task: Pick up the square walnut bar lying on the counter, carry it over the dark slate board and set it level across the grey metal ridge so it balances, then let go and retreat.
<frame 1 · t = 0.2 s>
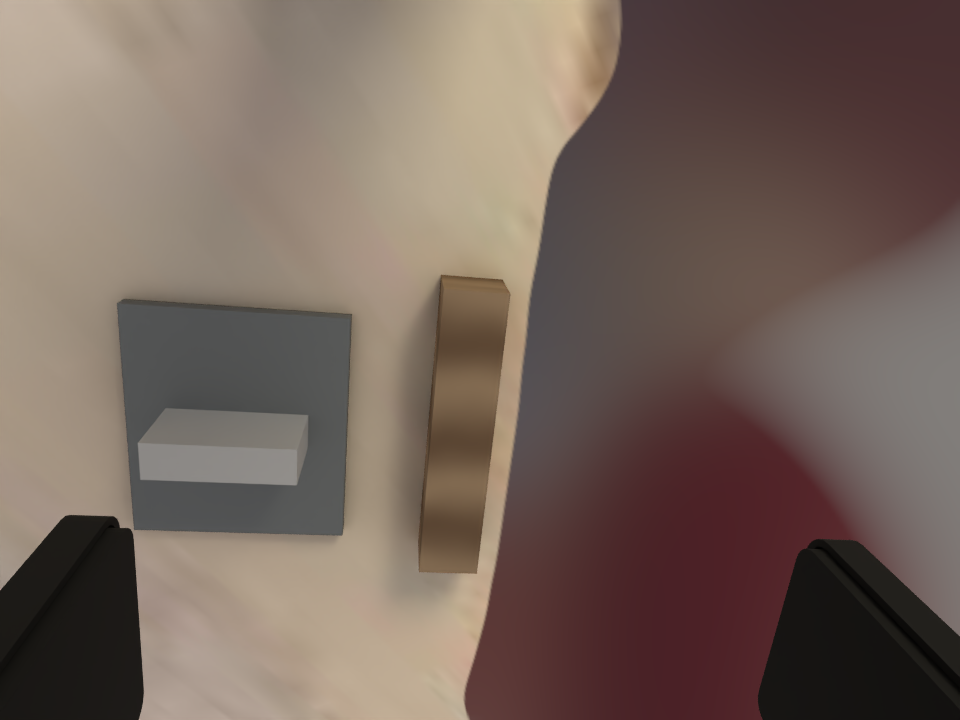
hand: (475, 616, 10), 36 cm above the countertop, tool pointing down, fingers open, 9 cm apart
slate board: (241, 421, 47), on the countertop
walnut bar: (457, 416, 49), on the countertop
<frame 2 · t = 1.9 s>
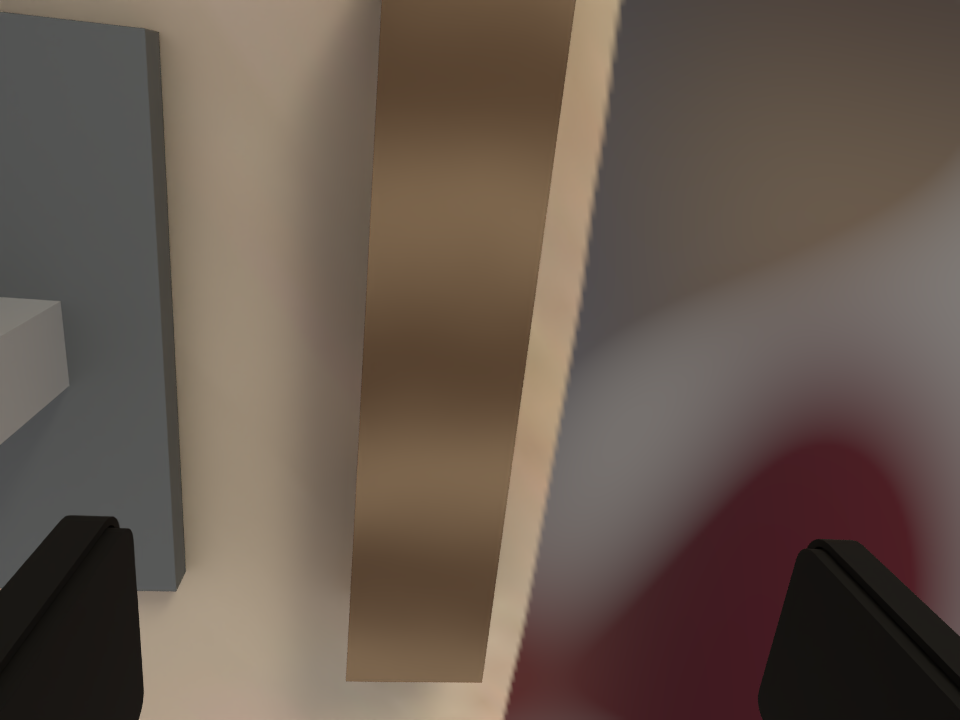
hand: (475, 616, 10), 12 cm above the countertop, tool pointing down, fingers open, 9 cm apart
walnut bar: (438, 318, 21), on the countertop
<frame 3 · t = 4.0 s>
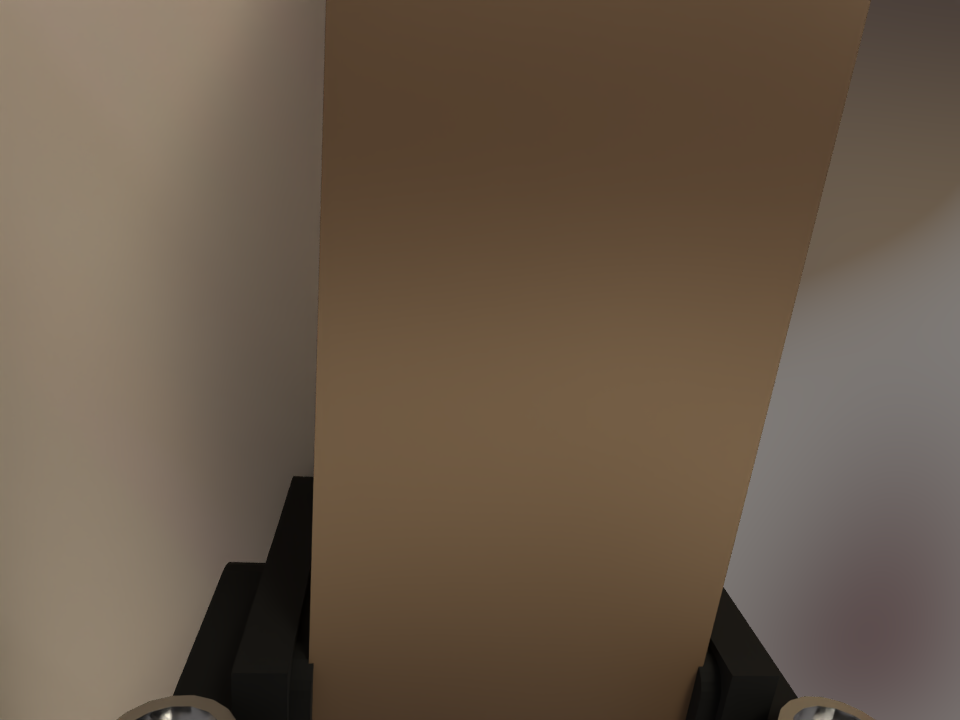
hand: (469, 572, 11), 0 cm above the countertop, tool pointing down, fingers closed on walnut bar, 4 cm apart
walnut bar: (467, 546, 11), on the countertop, touching gripper
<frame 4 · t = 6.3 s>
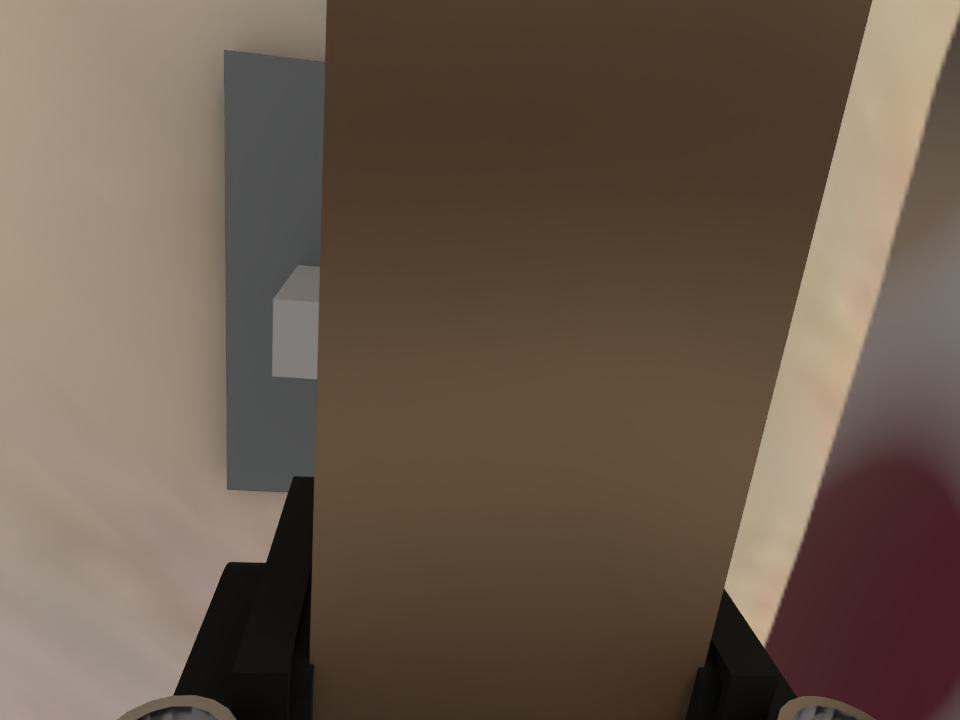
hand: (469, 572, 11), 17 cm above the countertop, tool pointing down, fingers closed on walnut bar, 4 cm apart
slate board: (420, 300, 27), on the countertop
walnut bar: (467, 550, 11), point 17 cm above the countertop, touching gripper
when the fingers open (7 cm above the countertop, at t = 9.0 s): walnut bar stays where it is, resting on slate board.
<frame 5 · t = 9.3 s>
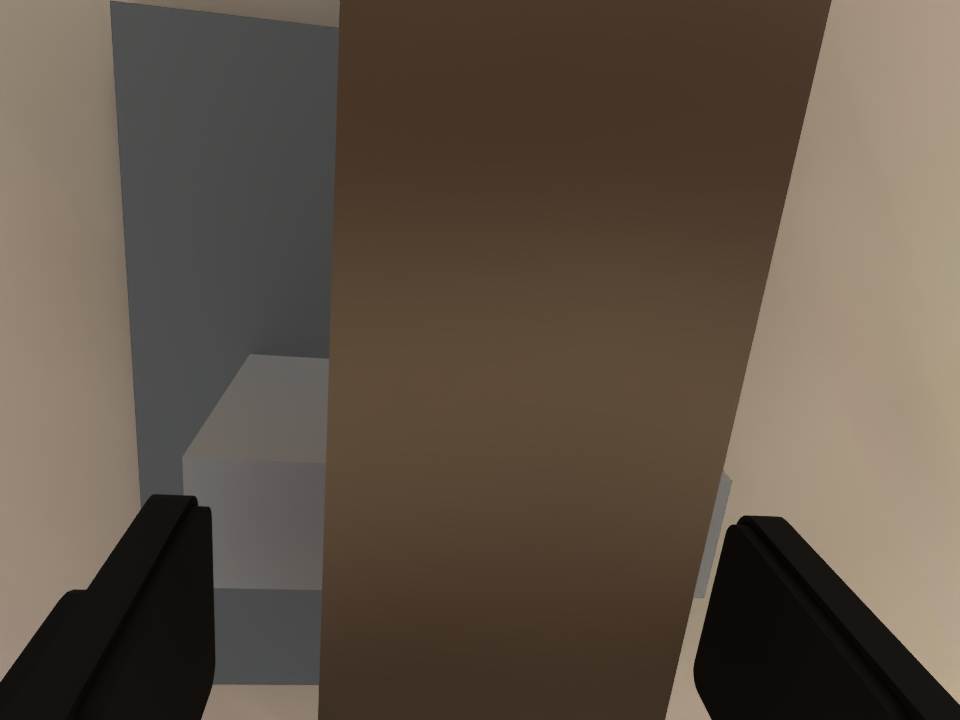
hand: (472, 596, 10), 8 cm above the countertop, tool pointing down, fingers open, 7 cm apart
slate board: (445, 398, 17), on the countertop
walnut bar: (468, 522, 12), point 6 cm above the countertop, touching slate board
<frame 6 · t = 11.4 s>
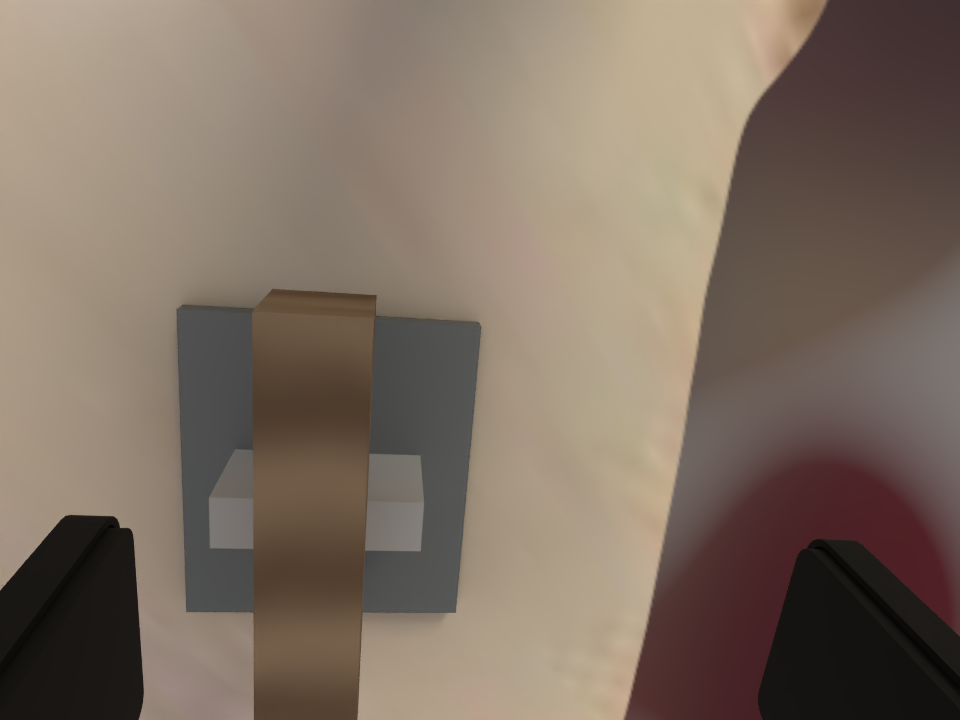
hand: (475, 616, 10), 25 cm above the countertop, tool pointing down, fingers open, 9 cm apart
slate board: (330, 466, 36), on the countertop
walnut bar: (319, 520, 30), point 6 cm above the countertop, touching slate board
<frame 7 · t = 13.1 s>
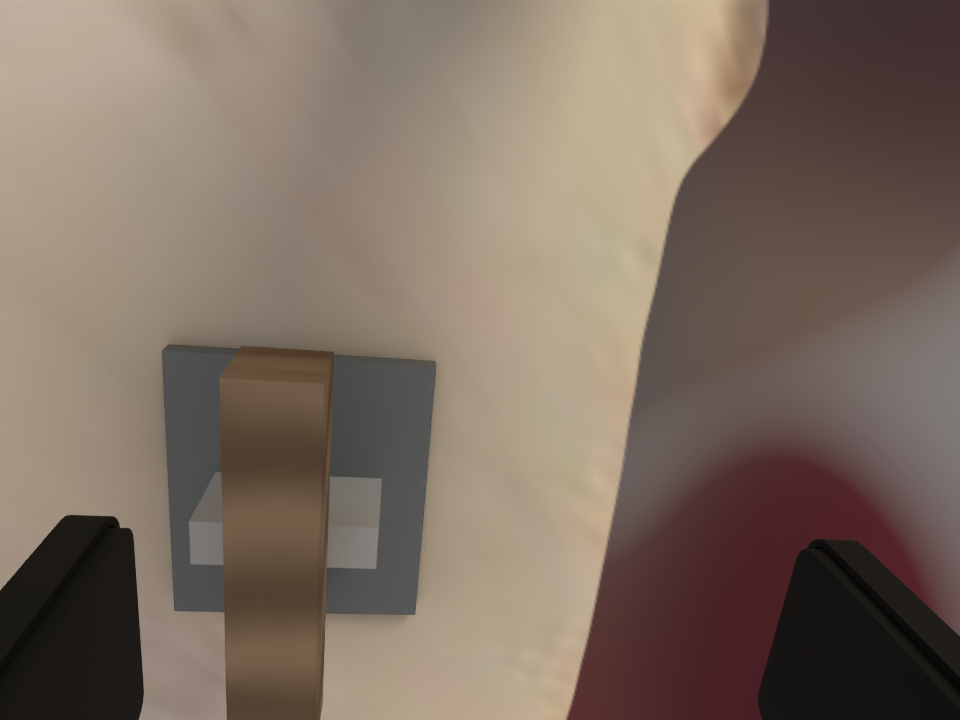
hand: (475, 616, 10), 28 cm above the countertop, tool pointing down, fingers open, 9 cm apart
slate board: (302, 485, 40), on the countertop
walnut bar: (286, 542, 34), point 6 cm above the countertop, touching slate board
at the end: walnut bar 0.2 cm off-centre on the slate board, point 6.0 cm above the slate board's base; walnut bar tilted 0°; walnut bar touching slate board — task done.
